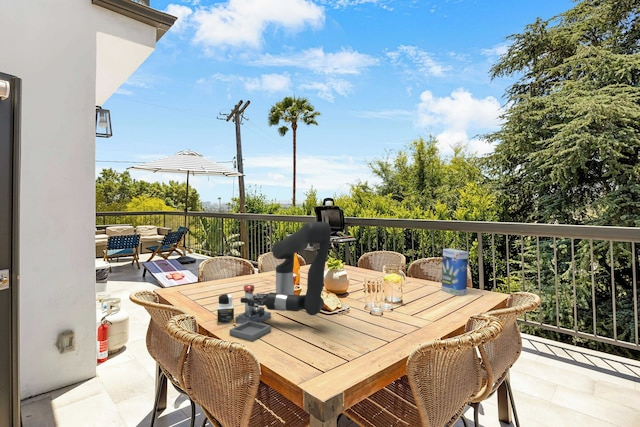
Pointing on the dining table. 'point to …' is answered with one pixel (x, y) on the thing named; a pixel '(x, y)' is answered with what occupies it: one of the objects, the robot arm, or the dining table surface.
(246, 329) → the tray
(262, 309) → the tensioner block
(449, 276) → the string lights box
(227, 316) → the medicine bottle
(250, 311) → the pin
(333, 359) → the dining table surface
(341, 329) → the dining table surface
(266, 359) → the dining table surface
